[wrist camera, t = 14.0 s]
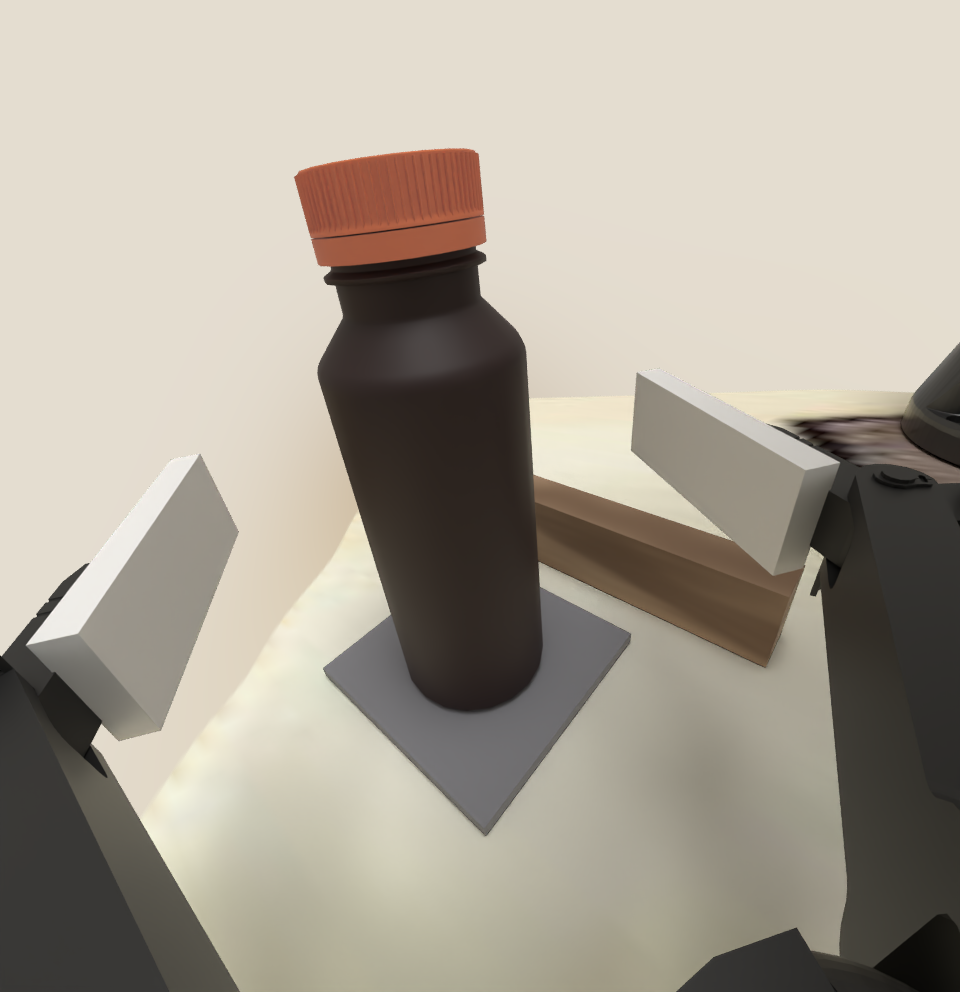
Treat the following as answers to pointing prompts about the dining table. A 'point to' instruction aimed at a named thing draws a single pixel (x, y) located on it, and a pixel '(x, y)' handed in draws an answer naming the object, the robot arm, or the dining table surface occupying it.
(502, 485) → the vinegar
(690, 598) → the door rail
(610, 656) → the pad
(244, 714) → the dining table surface
